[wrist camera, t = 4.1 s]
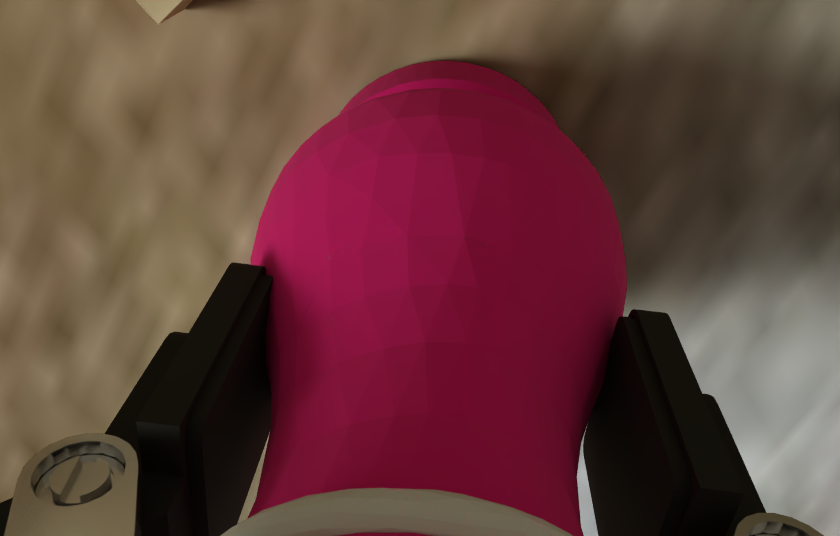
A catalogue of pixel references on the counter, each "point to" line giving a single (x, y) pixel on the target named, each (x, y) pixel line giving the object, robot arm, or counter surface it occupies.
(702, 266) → the counter surface
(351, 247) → the magenta skittle
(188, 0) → the peg board
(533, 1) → the counter surface
